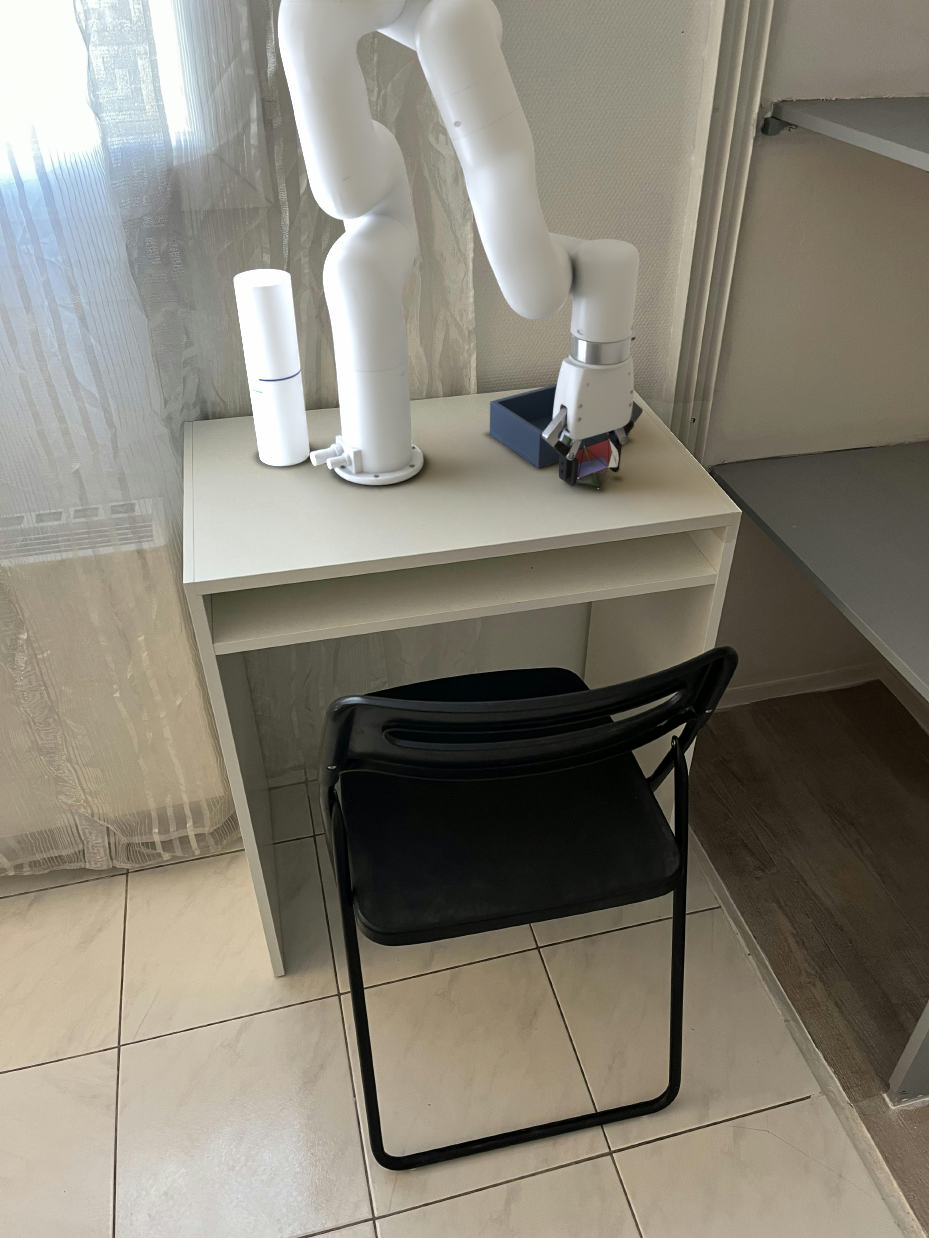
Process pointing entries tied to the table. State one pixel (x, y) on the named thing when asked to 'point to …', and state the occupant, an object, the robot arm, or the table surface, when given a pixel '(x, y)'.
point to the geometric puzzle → (596, 459)
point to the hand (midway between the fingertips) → (589, 473)
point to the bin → (529, 425)
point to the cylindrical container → (273, 365)
